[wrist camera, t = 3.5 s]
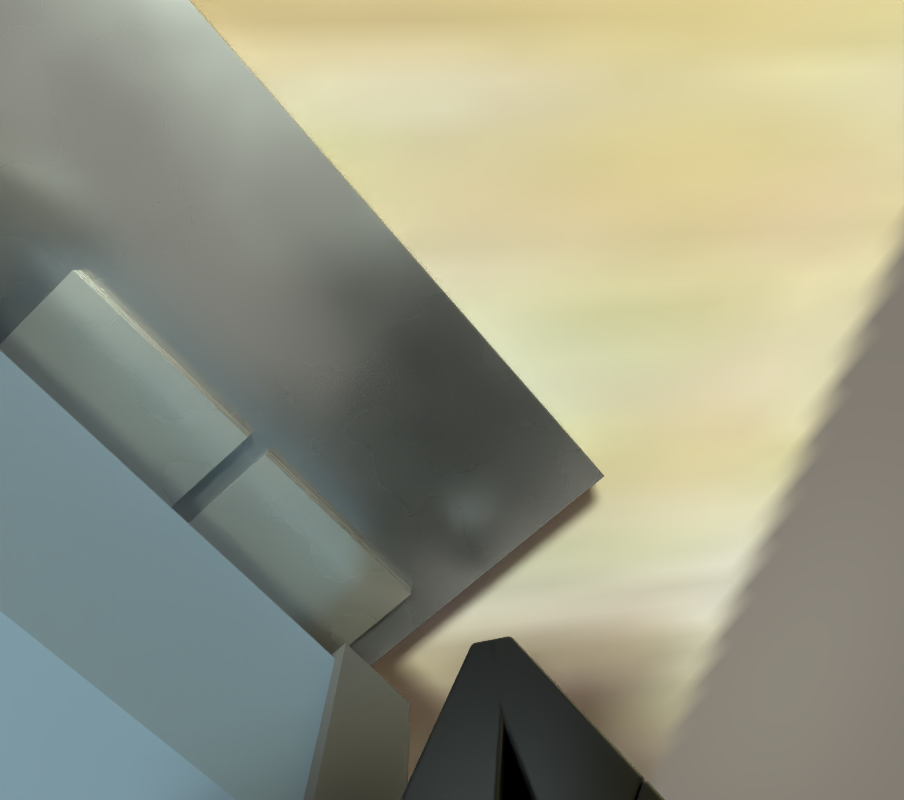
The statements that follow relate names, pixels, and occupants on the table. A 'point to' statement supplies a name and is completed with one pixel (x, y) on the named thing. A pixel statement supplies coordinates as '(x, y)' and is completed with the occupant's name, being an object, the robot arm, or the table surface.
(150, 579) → the lever
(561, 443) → the lid
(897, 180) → the table surface
